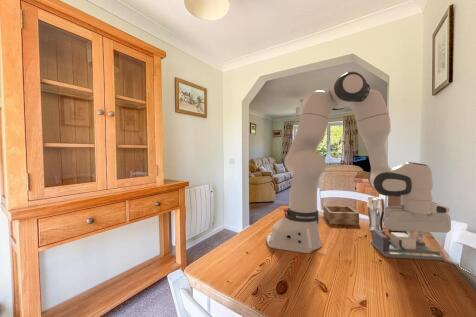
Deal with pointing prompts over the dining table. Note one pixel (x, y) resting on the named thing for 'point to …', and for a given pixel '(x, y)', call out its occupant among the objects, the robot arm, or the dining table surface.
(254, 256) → the dining table surface
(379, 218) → the beer glass
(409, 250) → the gauge board
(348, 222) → the tray
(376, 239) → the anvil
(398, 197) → the travel mug
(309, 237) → the robot arm
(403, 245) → the block
